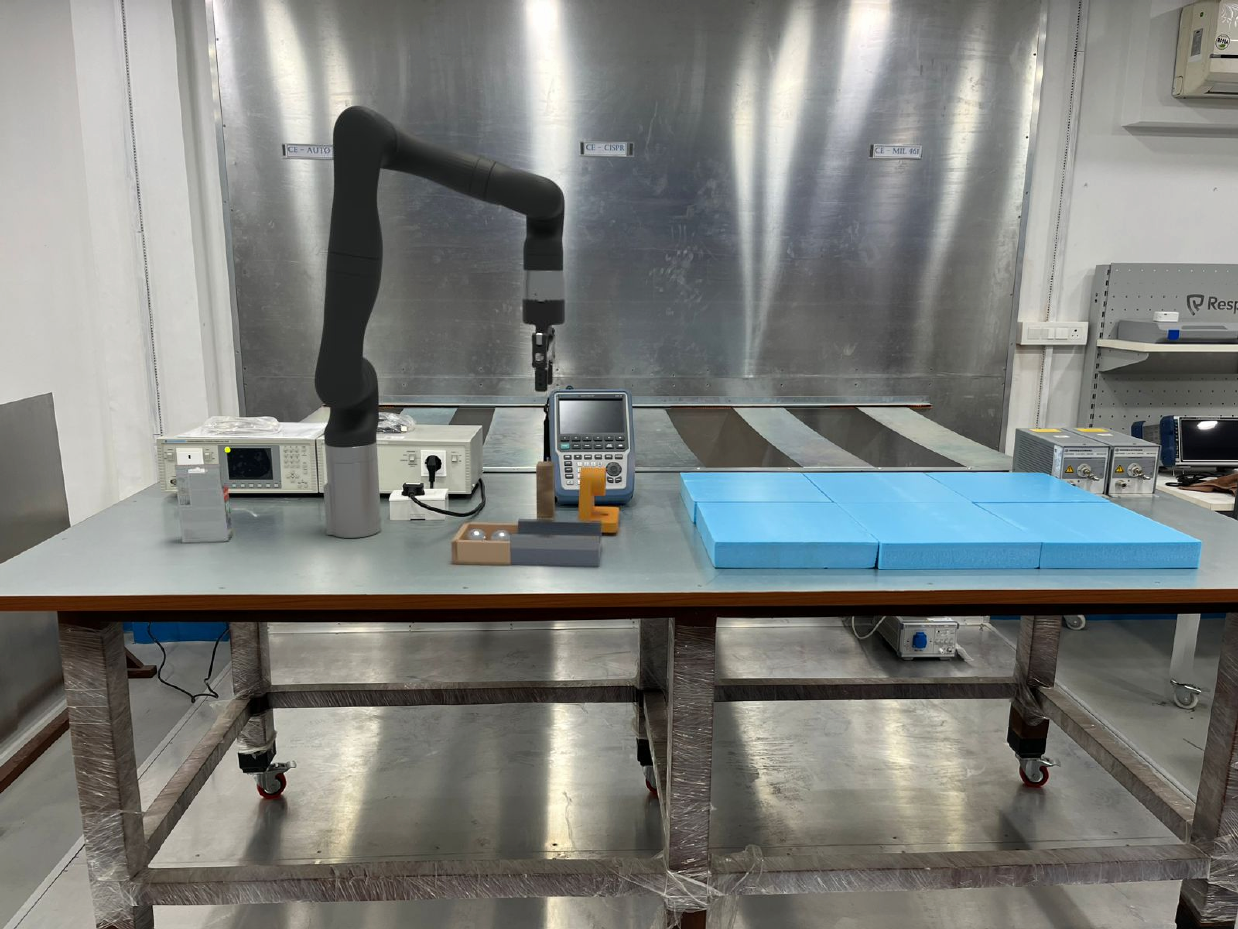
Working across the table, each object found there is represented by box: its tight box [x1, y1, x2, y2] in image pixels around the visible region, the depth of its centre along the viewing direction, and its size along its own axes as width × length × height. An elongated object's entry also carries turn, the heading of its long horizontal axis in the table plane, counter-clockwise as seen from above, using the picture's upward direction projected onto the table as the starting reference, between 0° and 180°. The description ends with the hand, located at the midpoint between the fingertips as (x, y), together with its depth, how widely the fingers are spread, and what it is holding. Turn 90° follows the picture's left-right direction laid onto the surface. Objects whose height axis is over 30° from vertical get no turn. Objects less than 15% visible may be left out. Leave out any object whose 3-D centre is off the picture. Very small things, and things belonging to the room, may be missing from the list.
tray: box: [450, 521, 518, 566], centre depth 148 cm, size 10×11×4 cm
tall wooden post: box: [535, 461, 556, 519], centre depth 158 cm, size 3×6×14 cm, turn 178°
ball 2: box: [490, 530, 511, 541], centre depth 148 cm, size 4×4×4 cm
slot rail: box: [510, 518, 603, 568], centre depth 148 cm, size 15×10×5 cm
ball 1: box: [465, 529, 488, 541], centre depth 148 cm, size 4×4×4 cm
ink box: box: [174, 463, 234, 544], centre depth 152 cm, size 4×8×15 cm, turn 100°
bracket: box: [577, 466, 620, 534], centre depth 164 cm, size 11×7×12 cm, turn 177°
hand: (544, 387), depth 153 cm, fingers open, 8 cm apart
